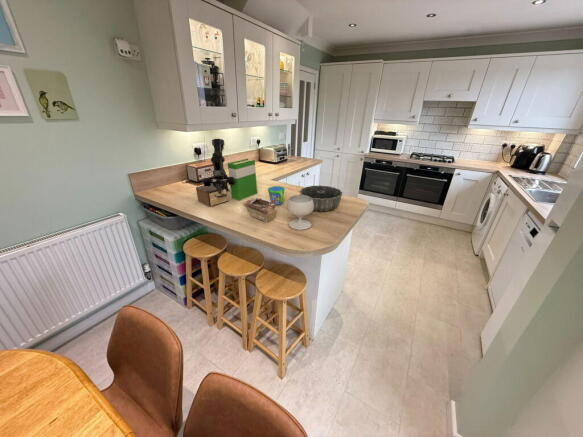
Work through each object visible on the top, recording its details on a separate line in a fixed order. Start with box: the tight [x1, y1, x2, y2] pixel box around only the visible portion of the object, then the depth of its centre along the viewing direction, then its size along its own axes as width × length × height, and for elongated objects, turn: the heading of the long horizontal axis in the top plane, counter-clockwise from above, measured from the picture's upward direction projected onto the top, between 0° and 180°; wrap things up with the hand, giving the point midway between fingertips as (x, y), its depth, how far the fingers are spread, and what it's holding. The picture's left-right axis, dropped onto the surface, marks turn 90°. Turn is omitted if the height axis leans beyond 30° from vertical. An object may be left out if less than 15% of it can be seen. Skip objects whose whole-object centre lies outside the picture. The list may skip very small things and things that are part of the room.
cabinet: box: [195, 183, 227, 207], centre depth 154 cm, size 15×13×10 cm
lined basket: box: [242, 197, 277, 223], centre depth 131 cm, size 13×20×10 cm, turn 43°
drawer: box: [209, 189, 228, 207], centre depth 151 cm, size 18×11×8 cm, turn 48°
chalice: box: [286, 194, 314, 231], centre depth 121 cm, size 14×14×15 cm
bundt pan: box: [299, 184, 344, 212], centre depth 145 cm, size 26×26×10 cm
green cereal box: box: [227, 158, 258, 201], centre depth 160 cm, size 18×7×24 cm, turn 145°
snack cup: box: [267, 185, 286, 206], centre depth 150 cm, size 16×10×10 cm
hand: (219, 193), depth 145 cm, fingers closed
